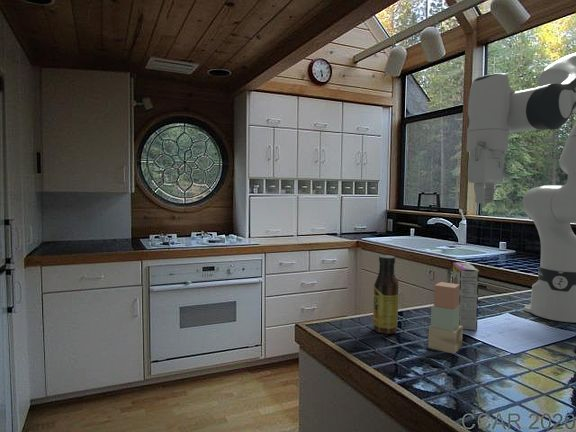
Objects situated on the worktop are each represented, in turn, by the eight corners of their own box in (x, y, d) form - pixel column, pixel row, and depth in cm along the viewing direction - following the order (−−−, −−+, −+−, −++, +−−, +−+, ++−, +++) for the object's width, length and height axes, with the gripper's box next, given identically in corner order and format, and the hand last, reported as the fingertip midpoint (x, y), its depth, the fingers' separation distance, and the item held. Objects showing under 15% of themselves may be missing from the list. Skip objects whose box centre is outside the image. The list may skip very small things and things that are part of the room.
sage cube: (438, 322, 104) (438, 301, 104) (459, 326, 101) (459, 305, 101) (430, 326, 100) (431, 306, 100) (452, 331, 97) (453, 310, 97)
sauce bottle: (374, 325, 116) (376, 253, 115) (398, 328, 114) (400, 254, 113) (371, 333, 110) (373, 257, 109) (396, 336, 108) (398, 258, 107)
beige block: (436, 341, 105) (437, 321, 105) (462, 346, 101) (462, 326, 101) (428, 348, 100) (428, 327, 100) (454, 354, 97) (455, 332, 96)
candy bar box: (450, 317, 124) (452, 262, 123) (468, 318, 123) (470, 262, 122) (457, 329, 114) (459, 268, 113) (477, 331, 113) (480, 269, 112)
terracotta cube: (439, 302, 104) (440, 281, 103) (459, 305, 101) (459, 284, 101) (433, 306, 100) (434, 285, 100) (453, 309, 97) (454, 287, 97)
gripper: (492, 138, 90) (490, 204, 91) (509, 147, 106) (506, 202, 107) (461, 140, 94) (459, 203, 94) (482, 148, 110) (479, 201, 111)
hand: (484, 203), depth 101 cm, fingers open, 8 cm apart
